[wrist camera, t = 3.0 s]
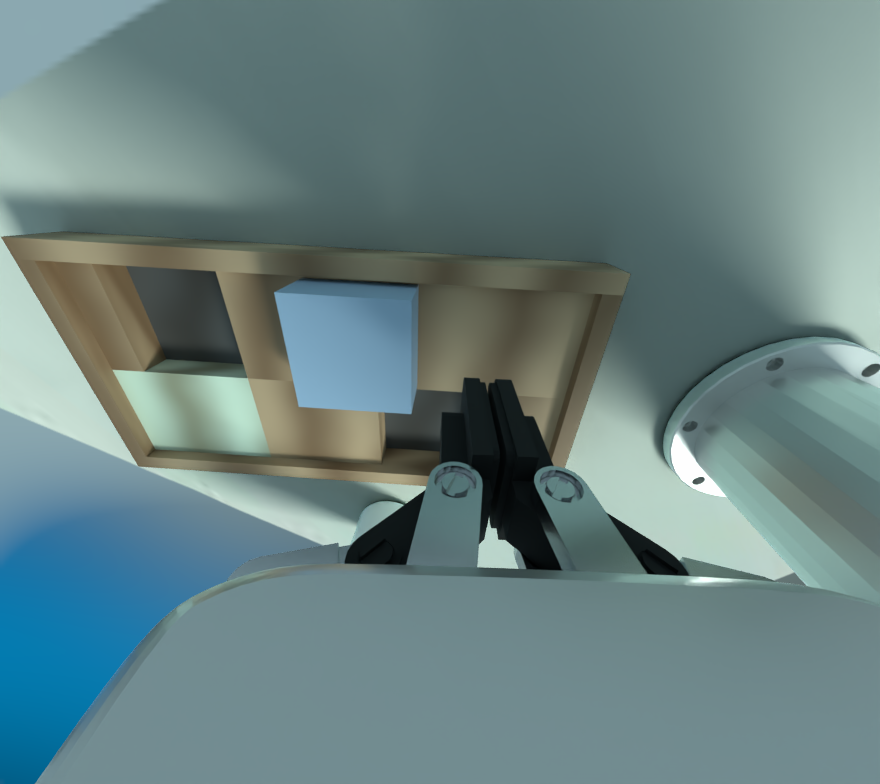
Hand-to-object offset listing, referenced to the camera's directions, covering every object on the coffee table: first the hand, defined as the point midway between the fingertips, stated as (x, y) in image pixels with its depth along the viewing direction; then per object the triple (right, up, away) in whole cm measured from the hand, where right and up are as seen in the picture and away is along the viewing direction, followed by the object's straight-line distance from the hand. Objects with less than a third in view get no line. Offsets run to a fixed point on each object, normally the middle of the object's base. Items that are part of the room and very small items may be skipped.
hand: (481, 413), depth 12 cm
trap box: (-8, +2, +10) cm, 13 cm away
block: (-6, +4, +6) cm, 9 cm away
